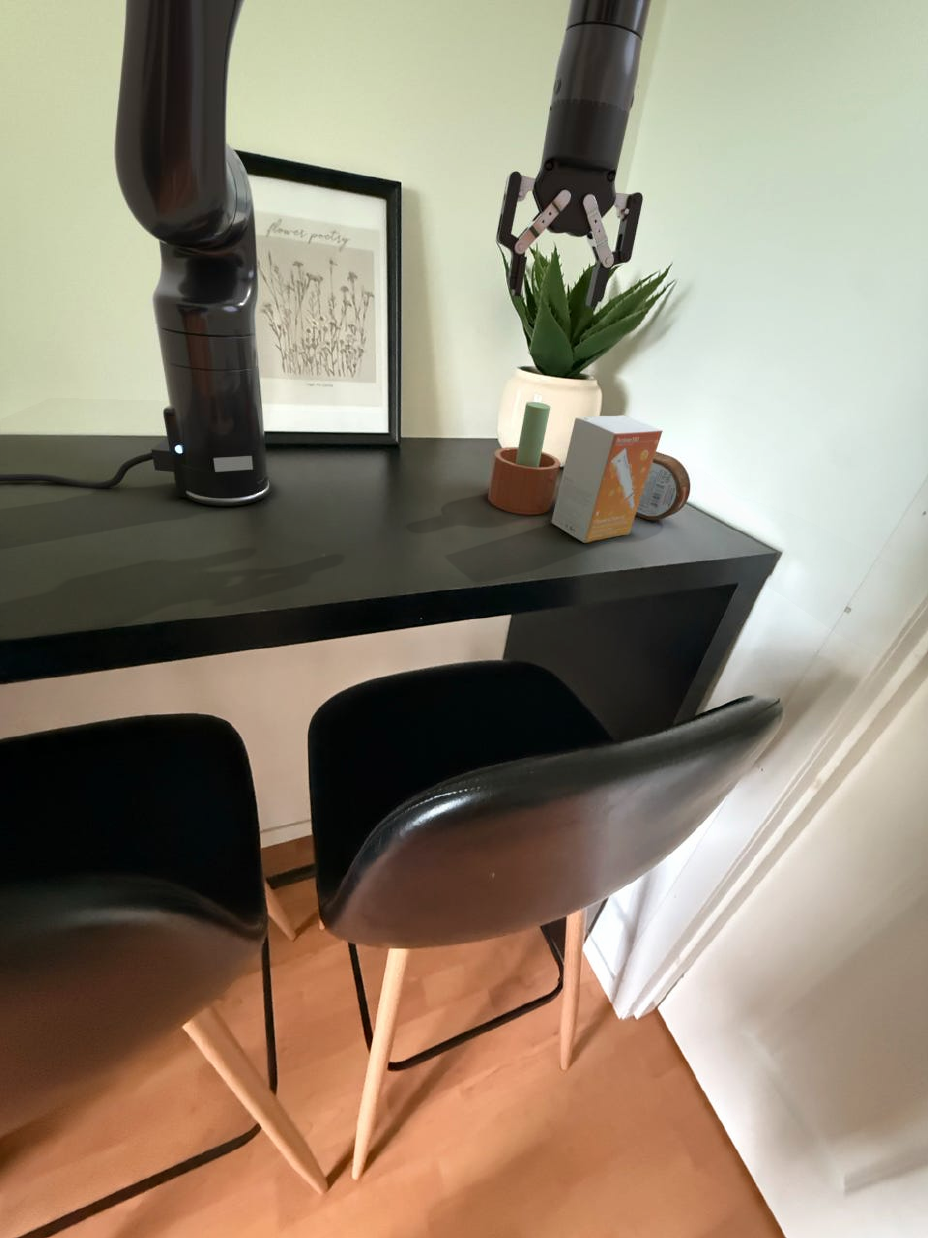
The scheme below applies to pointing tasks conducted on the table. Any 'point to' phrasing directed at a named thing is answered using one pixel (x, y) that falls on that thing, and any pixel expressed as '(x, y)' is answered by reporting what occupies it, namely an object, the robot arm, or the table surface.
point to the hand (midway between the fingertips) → (553, 301)
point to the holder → (522, 483)
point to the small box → (604, 476)
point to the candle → (532, 434)
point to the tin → (664, 489)
